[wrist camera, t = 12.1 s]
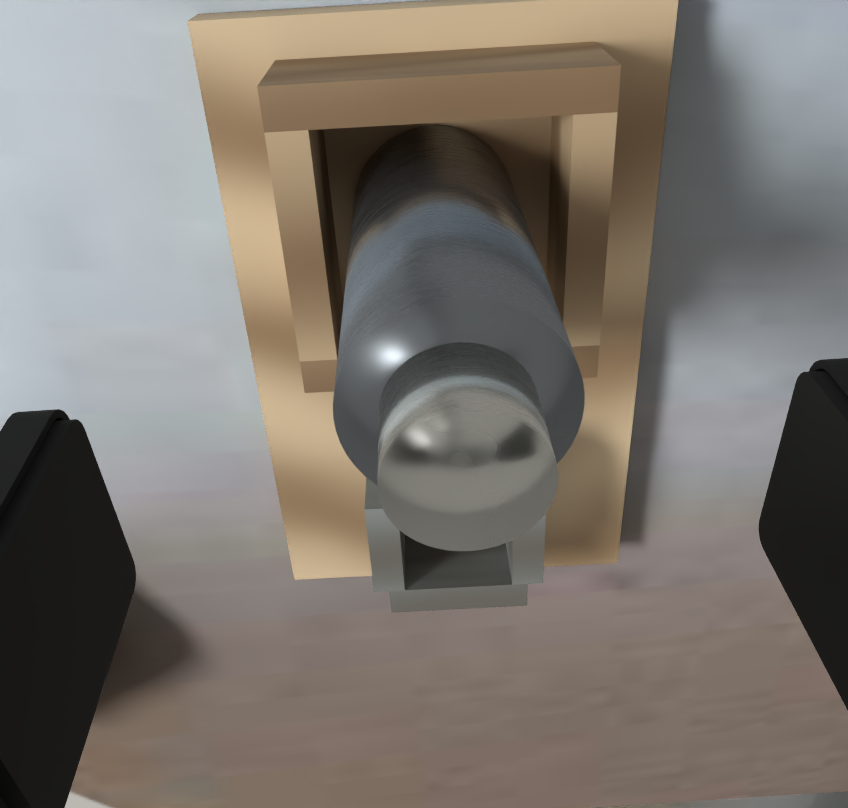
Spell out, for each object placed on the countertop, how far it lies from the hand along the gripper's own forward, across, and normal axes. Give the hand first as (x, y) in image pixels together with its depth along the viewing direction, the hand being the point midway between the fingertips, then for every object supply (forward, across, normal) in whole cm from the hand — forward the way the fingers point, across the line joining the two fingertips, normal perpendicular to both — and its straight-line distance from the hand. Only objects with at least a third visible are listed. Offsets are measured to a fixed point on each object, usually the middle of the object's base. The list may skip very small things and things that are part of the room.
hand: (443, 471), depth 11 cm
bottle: (+13, 0, +2) cm, 13 cm away
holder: (+14, -1, +6) cm, 15 cm away
